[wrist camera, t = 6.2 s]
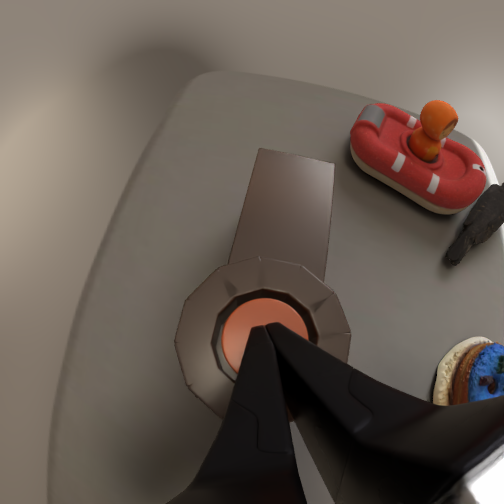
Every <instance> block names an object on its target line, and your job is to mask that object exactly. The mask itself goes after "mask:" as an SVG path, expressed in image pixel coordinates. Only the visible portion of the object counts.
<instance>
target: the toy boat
mask: <svg viewBox="0 0 504 504" xmlns="http://www.w3.org/2000/svg"><path fill="white" fill-rule="evenodd" d="M457 122H458V116H457V114H456V112H455V110H454V109H453V108H452V107H451V106H450V105H449V104H448V103H446V102H444V101H440V100H435V101H431V102H429V103H427V104H426V105H425V106H424V107H423V109H422V111H421V114H420V121H419V120H417V119H416V118H414V117H412V116H410V115H408V114H407V113H405V112H403V111H401V110H400V109H398V108H396V107H394V106H391V105H388V104H382V103H377V104H369V105H367V106H365V107H364V109H363V110H362V112H361V113H360V114H359V116H358V118H357V120H356V122H355V124H354V125H353V127H352V129H351V131H350V134H351V139H350V140H351V144H350V149H351V154H352V157H353V159H354V161H355V162H356V164H357V165H358V166H359V167H360V168H361V169H362V170H363V171H364V172H366V173H367V174H369V175H371V176H373V177H374V178H376V179H378V180H380V181H381V182H383V183H385V184H387V185H388V186H390V187H392V188H393V189H395V190H397V191H398V192H400V193H402V194H403V195H405V196H406V197H408V198H410V199H411V200H413V201H414V202H416V203H418V204H419V205H421V206H422V207H424V208H426V209H428V210H430V211H432V212H435V213H439V214H455V213H458V212H460V211H462V210H464V209H465V208H467V207H468V206H469V205H470V204H472V203H473V202H474V201H475V200H476V199H477V198H478V197H479V195H480V194H481V193H482V191H483V189H484V187H485V184H486V171H485V167H484V165H483V163H482V161H481V159H480V158H479V157H478V156H477V155H476V154H475V153H474V152H473V151H472V150H470V149H469V148H467V147H466V146H464V145H462V144H460V143H457V142H455V141H453V140H451V139H448V138H447V136H448V135H449V134H450V133H451V132H452V130H453V129H454V128H455V126H456V124H457Z"/></svg>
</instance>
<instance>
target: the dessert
mask: <svg viewBox="0 0 504 504" xmlns="http://www.w3.org/2000/svg"><path fill="white" fill-rule="evenodd" d="M433 394H434V395H433V404H437V405H444V406H450V405H458V404H463V403H469V402H474V401H479V400H484V399H489V398H494V397H498V396H502V395H504V346H503V345H501V343H500V344H499V343H498V341H497V342H494V343H493V342H492V341H490V340H489V339H487V338H485V337H472V338H469V339H467V340H464V341H462V342H461V343H459V344H457V345H455V346H454V347H453V348H452V349H451V350H450V351H449V352H448V353H447V354H446V355H445V357H444V358H443V359H442V360H441V362H440V363H439V365H438V371H437V379H436V383H435V389H434V393H433Z"/></svg>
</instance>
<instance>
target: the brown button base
mask: <svg viewBox="0 0 504 504" xmlns="http://www.w3.org/2000/svg"><path fill="white" fill-rule="evenodd" d="M334 174H335V164H334V163H330V162H325V161H321V160H317V159H312V158H308V157H303V156H299V155H294V154H289V153H284V152H279V151H274V150H268V149H263V148H259V150H258V154H257V157H256V161H255V165H254V168H253V172H252V175H251V179H250V183H249V186H248V190H247V194H246V197H245V201H244V205H243V208H242V212H241V216H240V220H239V223H238V227H237V231H236V235H235V238H234V242H233V246H232V250H231V254H230V257H229V261H228V265H225V266H221V267H218V269H216V270H215V271H214V272H213V273H212V274H211V275H210V276H209V277H208V278H207V279H206V280H205V281H204V282H203V283H202V284H201V285H200V286H199V287H198V288H197V289H196V290H195V291H194V292H193V293H192V294H191V295H190V296H189V297H188V298H187V299H186V300H185V303H184V306H183V310H182V314H181V317H180V321H179V325H178V328H177V332H176V336H175V340H174V342H175V349H176V352H177V356H178V359H179V363H180V366H181V370H182V373H183V376H184V380H185V383H186V386H187V387H188V389H189V390H190V391H191V392H192V393H193V394H194V395H195V397H196V398H199V399H200V400H201V401H202V402H203V403H204V404H205V405H206V406H207V407H208V408H210V409H211V410H212V411H213V412H214V413H215V414H216V415H218V416H219V417H220V418H222V419H223V418H224V417H225V414H226V411H227V408H228V404H229V401H230V398H231V395H232V391H233V388H234V385H235V381H236V378H237V375H238V374H237V373H236V372H235V371H234V370H233V369H232V368H231V367H230V365H229V364H228V362H227V361H226V359H225V357H224V354H223V351H222V345H221V336H222V330H223V327H224V324H225V322H226V320H227V319H228V317H229V316H230V314H231V313H232V312H233V311H234V310H235V309H236V308H237V307H239V306H240V305H242V304H244V303H246V302H248V301H250V300H254V299H260V298H270V299H275V300H279V301H282V302H284V303H286V304H288V305H289V306H291V307H292V308H293V309H294V310H295V311H296V312H297V313H298V314H299V315H300V316H301V318H302V319H303V321H304V323H305V325H306V328H307V332H308V341H310V342H312V343H313V344H315V345H316V346H318V347H320V348H321V349H323V350H325V351H326V352H328V353H330V354H331V355H333V356H335V357H336V358H338V359H340V360H341V361H343V362H345V363H346V364H347V362H348V355H349V348H350V341H351V330H350V328H349V325H348V322H347V320H346V317H345V315H344V312H343V310H342V307H341V305H340V302H339V300H338V297H337V295H336V293H334V291H333V290H332V289H331V288H330V287H328V286H327V285H326V284H325V283H324V277H325V269H326V261H327V252H328V243H329V234H330V224H331V213H332V201H333V188H334ZM285 403H286V402H285ZM286 409H287V414H288V420H289V423H290V422H293V421H294V419H293V417H292V415H291V413H290V411H289V408H288V406H287V404H286Z"/></svg>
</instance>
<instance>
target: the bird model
mask: <svg viewBox="0 0 504 504" xmlns="http://www.w3.org/2000/svg"><path fill="white" fill-rule="evenodd" d="M503 223H504V183H502V186H499V185H497V184H493V185H491V186H490V187H489V188H488V189H487V190H486V191H485V192H484V193H483V194H482V195H481V196H480V198H479V199H478V200H477V202H476V204H475V205H474V207H473V208H472V210H471V211H470V214H469V216H468V217H467V219H466V221H465V222H464V229H463V232H462V233H461V235H460V236H459V238H458V239H457V240H456V242H455V243H454V244H453V245H452V246H450V247H449V250H448V251H447V253H446V257H447V258H448V259H450V262H451V264H452V265H454V266H456V265H457V264H459V263H460V261H461V259H462V258H463V257H464V256H465V254H466V253H467V252H468V251H469V249H470V248H471V246H472V245H473V244H474V243H475V244H478V243H479V242H481V243H483V242H485V241H486V240H487V239H488V238H489V237H490V236H491V235H492V234H493V232H495V231H496V230H497V229H498V228H499V227H500V226H501V225H502V224H503Z"/></svg>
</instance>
